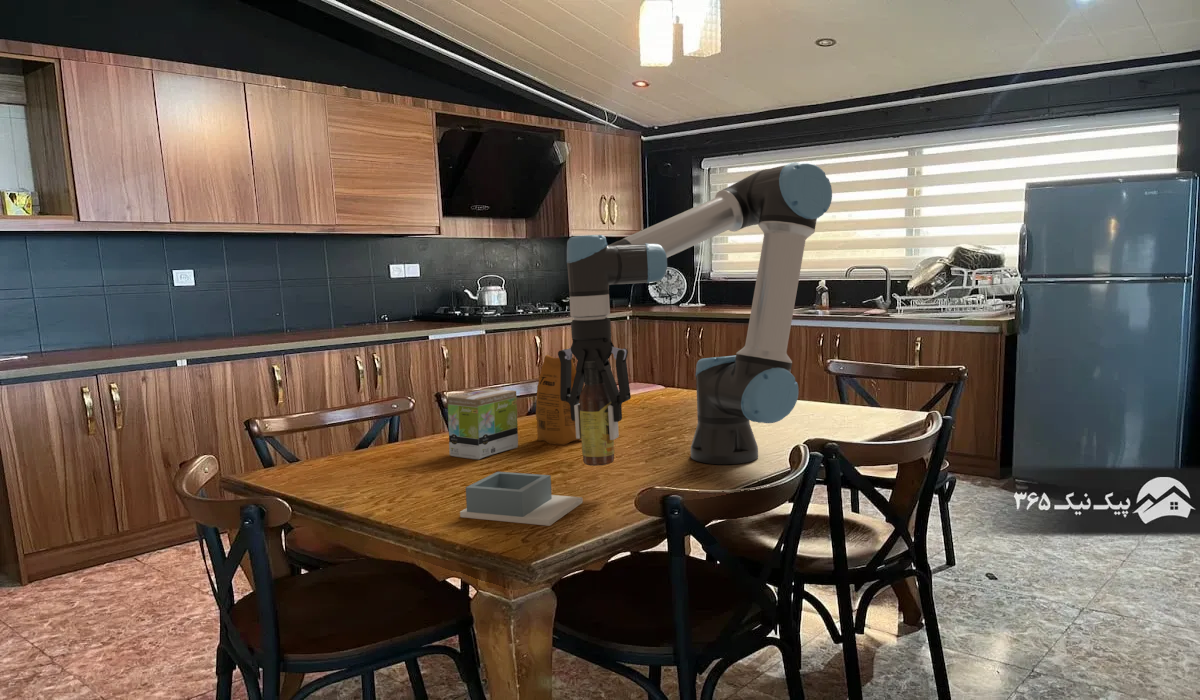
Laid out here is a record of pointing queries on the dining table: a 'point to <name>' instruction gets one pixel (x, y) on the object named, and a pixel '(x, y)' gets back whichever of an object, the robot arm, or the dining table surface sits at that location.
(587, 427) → the sauce bottle
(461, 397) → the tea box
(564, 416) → the coffee package
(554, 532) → the dining table surface
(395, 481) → the dining table surface
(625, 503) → the dining table surface
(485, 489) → the bottle dock
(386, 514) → the dining table surface
